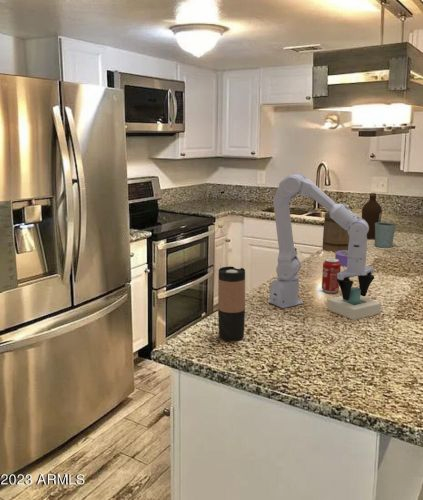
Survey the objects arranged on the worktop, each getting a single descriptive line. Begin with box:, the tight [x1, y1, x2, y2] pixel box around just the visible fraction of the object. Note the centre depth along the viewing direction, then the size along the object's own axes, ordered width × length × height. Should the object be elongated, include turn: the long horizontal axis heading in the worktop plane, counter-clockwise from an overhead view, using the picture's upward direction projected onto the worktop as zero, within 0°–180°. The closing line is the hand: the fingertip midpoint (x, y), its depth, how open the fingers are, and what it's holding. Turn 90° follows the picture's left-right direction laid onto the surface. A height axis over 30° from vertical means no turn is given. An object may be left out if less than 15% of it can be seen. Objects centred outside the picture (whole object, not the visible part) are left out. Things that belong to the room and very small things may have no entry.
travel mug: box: [217, 265, 246, 342], centre depth 143 cm, size 8×8×20 cm
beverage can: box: [321, 257, 342, 294], centre depth 186 cm, size 6×6×12 cm
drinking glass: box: [374, 221, 397, 249], centre depth 260 cm, size 10×10×12 cm
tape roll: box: [334, 250, 348, 268], centre depth 226 cm, size 12×12×5 cm
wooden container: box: [322, 211, 356, 253], centre depth 253 cm, size 15×15×22 cm
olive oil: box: [361, 192, 383, 240], centre depth 280 cm, size 11×11×25 cm
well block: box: [326, 295, 382, 321], centre depth 165 cm, size 12×12×4 cm
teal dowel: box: [347, 287, 361, 305], centre depth 165 cm, size 4×4×7 cm
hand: (354, 297), depth 165 cm, fingers open, 7 cm apart
